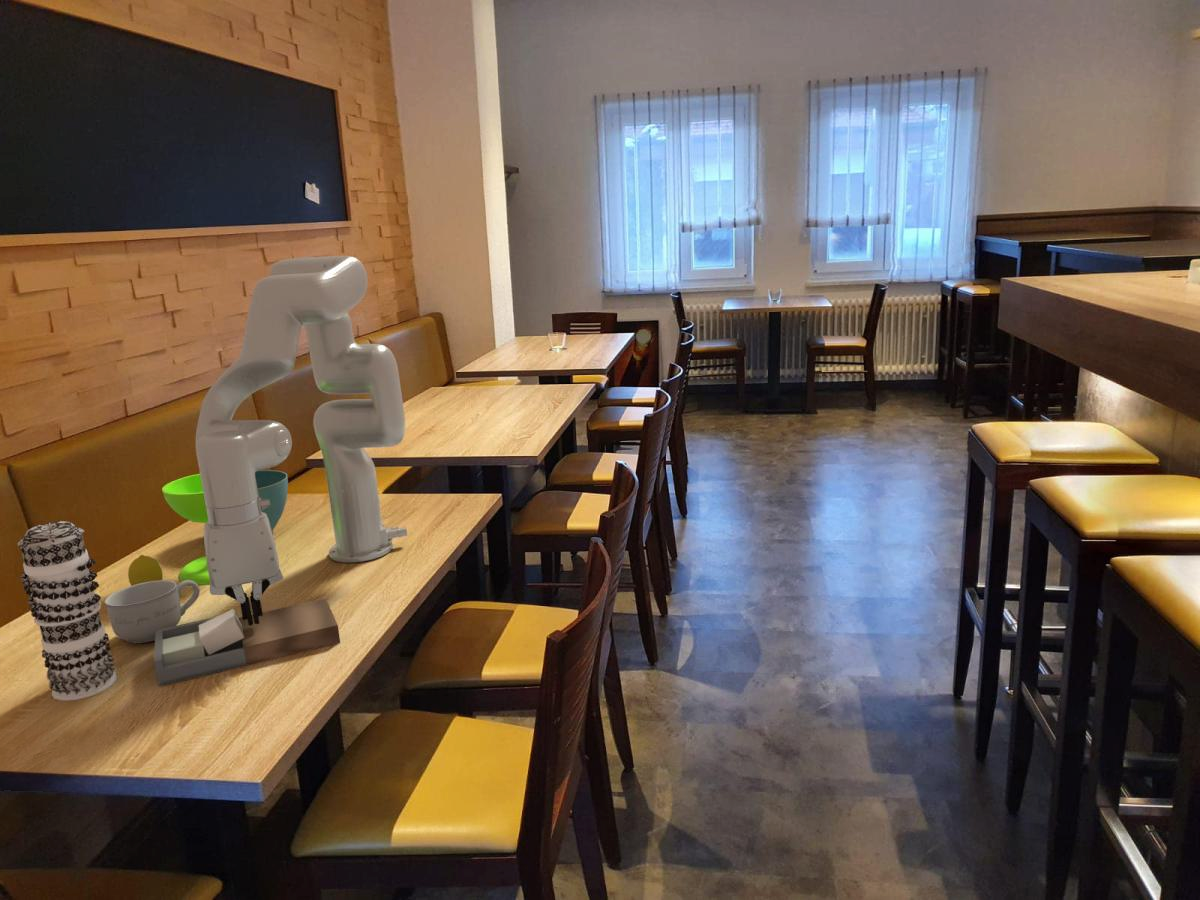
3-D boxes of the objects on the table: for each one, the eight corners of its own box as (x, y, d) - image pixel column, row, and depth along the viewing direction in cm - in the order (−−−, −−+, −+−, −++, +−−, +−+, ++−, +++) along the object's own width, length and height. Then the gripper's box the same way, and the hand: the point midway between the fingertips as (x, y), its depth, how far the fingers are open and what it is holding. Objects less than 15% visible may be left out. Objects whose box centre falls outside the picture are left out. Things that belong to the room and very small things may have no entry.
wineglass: (281, 554, 177) (268, 470, 172) (232, 586, 162) (216, 495, 157) (214, 552, 181) (199, 470, 176) (160, 582, 166) (142, 493, 161)
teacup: (112, 656, 136) (102, 610, 134) (114, 630, 146) (105, 587, 144) (207, 634, 142) (199, 589, 140) (203, 610, 152) (195, 568, 150)
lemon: (152, 602, 157) (144, 561, 154) (126, 601, 158) (117, 560, 156) (172, 589, 162) (164, 550, 160) (147, 588, 163) (139, 549, 161)
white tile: (241, 624, 138) (233, 608, 137) (244, 637, 133) (235, 621, 132) (207, 640, 136) (198, 625, 135) (208, 655, 131) (199, 639, 130)
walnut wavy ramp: (328, 614, 147) (325, 598, 146) (340, 642, 137) (337, 624, 136) (240, 634, 141) (237, 617, 141) (246, 665, 131) (243, 647, 130)
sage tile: (204, 648, 136) (201, 630, 135) (206, 662, 131) (202, 644, 130) (166, 657, 134) (162, 639, 133) (166, 672, 129) (162, 654, 128)
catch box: (240, 634, 141) (236, 612, 140) (246, 665, 131) (242, 641, 130) (160, 653, 136) (155, 630, 135) (159, 686, 126) (154, 662, 125)
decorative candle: (97, 665, 134) (63, 513, 127) (133, 677, 129) (99, 520, 123) (36, 693, 126) (-4, 533, 120) (71, 707, 121) (32, 541, 115)
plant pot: (190, 541, 188) (180, 488, 185) (260, 516, 203) (252, 466, 200) (242, 553, 179) (233, 497, 175) (312, 526, 193) (304, 474, 190)
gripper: (283, 497, 138) (299, 602, 142) (180, 514, 132) (201, 623, 136) (288, 509, 131) (305, 619, 136) (181, 528, 125) (202, 643, 130)
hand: (253, 621), depth 136 cm, fingers closed
